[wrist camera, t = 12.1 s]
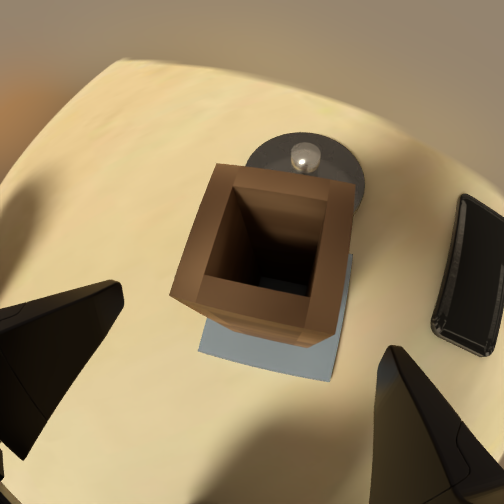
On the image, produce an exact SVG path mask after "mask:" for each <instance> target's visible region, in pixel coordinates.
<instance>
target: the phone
mask: <svg viewBox="0 0 504 504" xmlns="http://www.w3.org/2000/svg"><path fill="white" fill-rule="evenodd" d="M503 309H504V217H502V216H501V215H499V214H498V213H497V212H495V211H494V210H492V209H491V208H489V207H488V206H486V205H485V204H483V203H481V202H480V201H478V200H477V199H475V198H474V197H472V196H470V195H468V194H462V195H461V196H460V197H459V199H458V201H457V207H456V214H455V221H454V228H453V234H452V239H451V245H450V250H449V255H448V259H447V264H446V268H445V272H444V276H443V280H442V284H441V288H440V292H439V295H438V299H437V302H436V305H435V309H434V312H433V315H432V318H431V329H432V331H433V333H434V334H435V335H436V336H438V337H440V338H442V339H444V340H446V341H448V342H450V343H452V344H454V345H456V346H458V347H460V348H462V349H464V350H466V351H469V352H471V353H473V354H475V355H477V356H479V357H486V356H489V355H491V354H492V352H493V351H494V348H495V345H496V341H497V337H498V333H499V328H500V324H501V319H502V314H503Z"/></svg>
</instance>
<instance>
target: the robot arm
mask: <svg viewBox="0 0 504 504" xmlns="http://www.w3.org/2000/svg"><path fill="white" fill-rule="evenodd" d="M123 307H124V296H123V291H122V285H121V283H120V282H118V281H115V280H106V281H103V282H99V283H95V284H91V285H88V286H84V287H80V288H77V289H73V290H69V291H65V292H62V293H58V294H54V295H51V296H47V297H43V298H40V299H36V300H33V301H29V302H27V303H26V302H25V303H22V304H18V305H14V306H10V307H6V308H2V309H0V443H1V442H3V443H4V444H5V445H6V446H7V447H8V448H9V449H10V450H11V451H12V452H13V453H14V454H16V455H17V456H18V457H19V458H20V459H21V460H22V461H24V460H25V458H26V457H27V455H28V453H29V452H30V450H31V448H32V446H33V445H34V443H35V441H36V440H37V438H38V436H39V435H40V433H41V431H42V430H43V428H44V427H45V425H46V423H47V421H48V420H49V418H50V417H51V415H52V414H53V412H54V410H55V409H56V407H57V406H58V404H59V403H60V401H61V400H62V398H63V397H64V395H65V394H66V392H67V391H68V389H69V388H70V386H71V385H72V383H73V382H74V381H75V379H76V378H77V376H78V375H79V373H80V372H81V370H82V369H83V368H84V366H85V365H86V363H87V362H88V361H89V359H90V358H91V356H92V355H93V354H94V352H95V351H96V350H97V348H98V347H99V345H100V344H101V343H102V341H103V340H104V338H105V337H106V335H107V334H108V332H109V330H110V329H111V327H112V325H113V324H114V322H115V320H116V319H117V317H118V315H119V314H120V312H121V311H122V309H123ZM3 478H4V469H3V455H2V450H1V449H0V504H22V503H21V502H20V501H19V500H18V499H17V498H16V497H15V496H14V495H13V494H12V493H11V492H10V491H9V490H8V489H7V488H6V487H5V486H4V485H3V483H2V482H1V481H2V479H3ZM369 504H504V470H503V468H502V467H501V466H500V465H499V464H498V463H497V462H496V460H495V459H494V458H493V457H492V456H491V455H490V454H489V453H488V451H487V450H486V449H485V448H484V447H483V446H482V445H481V443H480V442H479V441H478V440H477V439H476V437H475V436H474V435H473V434H472V432H471V431H470V430H469V428H468V427H467V426H466V425H465V423H464V422H463V421H461V418H460V417H459V416H458V414H457V413H456V412H455V410H454V409H453V408H452V407H451V405H450V404H449V403H448V402H447V400H446V399H445V398H444V397H443V395H442V394H441V393H440V392H439V390H438V389H437V388H436V387H435V385H434V384H433V383H432V382H431V381H430V379H429V378H428V377H427V376H426V375H425V373H424V372H423V371H422V370H421V369H420V367H419V366H418V365H417V364H416V363H415V361H414V360H413V359H412V358H411V357H410V356H409V354H408V353H407V352H406V351H405V350H404V349H403V348H402V347H401V346H396V345H390V346H388V348H387V349H386V351H385V353H384V355H383V357H382V359H381V361H380V363H379V366H378V370H377V383H376V395H375V405H374V435H373V462H372V477H371V489H370V498H369Z"/></svg>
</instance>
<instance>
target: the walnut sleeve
mask: <svg viewBox="0 0 504 504" xmlns="http://www.w3.org/2000/svg"><path fill="white" fill-rule="evenodd" d="M355 186H356V184H351V183H346V182H341V181H336V180H331V179H325V178H320V177H314V176H308V175H302V174H296V173H290V172H283V171H276V170H269V169H262V168H254V167H245V166H237V165H228V164H218V163H217V164H216V166H215V169H214V171H213V174H212V176H211V179H210V181H209V184H208V186H207V189H206V191H205V194H204V196H203V199H202V202H201V204H200V207H199V210H198V212H197V215H196V218H195V221H194V223H193V226H192V229H191V232H190V234H189V237H188V240H187V243H186V246H185V249H184V252H183V254H182V257H181V260H180V263H179V266H178V269H177V272H176V275H175V278H174V282H173V285H172V288H171V291H170V294H169V296H171V297H173V298H174V299H176V300H178V301H179V302H181V303H183V304H185V305H186V306H188V307H190V308H191V309H193V310H195V311H197V312H199V313H200V314H202V315H204V316H206V317H207V318H209V319H211V320H213V321H215V322H217V323H218V324H220V325H222V326H224V327H226V328H228V329H230V330H232V331H234V332H238V333H242V334H246V335H250V336H254V337H258V338H263V339H267V340H271V341H276V342H280V343H285V344H290V345H294V346H299V347H304V348H309V347H311V346H313V345H315V344H317V343H319V342H321V341H323V340H325V339H327V338H329V337H331V336H333V335H335V333H336V328H337V323H338V317H339V312H340V307H341V301H342V295H343V289H344V283H345V276H346V269H347V262H348V255H349V247H350V239H351V230H352V221H353V210H354V199H355ZM261 276H262V277H267V278H272V279H277V280H282V281H286V282H291V283H296V284H301V285H306V286H307V289H306V294H305V296H300V295H295V294H290V293H285V292H281V291H276V290H271V289H266V288H262V287H258V286H259V282H260V278H261Z"/></svg>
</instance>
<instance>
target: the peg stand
mask: <svg viewBox="0 0 504 504" xmlns="http://www.w3.org/2000/svg"><path fill="white" fill-rule="evenodd" d="M245 167H254V168H262V169H269V170H276V171H283V172H290V173H296V174H302V175H308V176H314V177H320V178H325V179H331V180H336V181H341V182H346V183H351V184H356V186H355V199H354V210H353V215H354V214H355V212H356V211H357V209H358V207H359V205H360V203H361V200H362V197H363V194H364V188H365V180H364V174H363V171H362V168H361V166H360V164H359V162H358V161H357V159H356V158H355V157H354V155H353V154H352V153H351V152H350V151H349V150H348V149H347V148H345V147H344V146H343V145H341V144H340V143H338V142H336V141H335V140H333V139H330V138H328V137H325V136H322V135H319V134H314V133H305V132H297V133H289V134H284V135H280V136H277V137H275V138H272V139H270V140H268V141H267V142H265V143H263V144H262V145H261V146H259V147H258V148H257V149H256V150H255V151H254V152H253V154H252V155H251V156H250V158H249V159H248V161H247V164H246V166H245Z"/></svg>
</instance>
